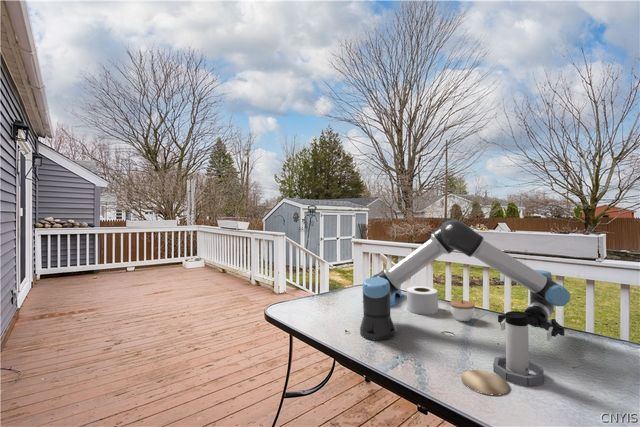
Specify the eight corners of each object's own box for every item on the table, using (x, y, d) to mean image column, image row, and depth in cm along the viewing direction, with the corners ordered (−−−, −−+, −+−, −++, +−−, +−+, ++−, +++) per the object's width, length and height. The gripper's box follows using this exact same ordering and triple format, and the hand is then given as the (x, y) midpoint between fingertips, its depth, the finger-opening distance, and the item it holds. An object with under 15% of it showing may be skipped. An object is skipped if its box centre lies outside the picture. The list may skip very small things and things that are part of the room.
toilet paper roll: (440, 307, 168) (440, 287, 168) (434, 316, 155) (433, 295, 155) (411, 303, 177) (411, 284, 176) (403, 311, 163) (402, 291, 163)
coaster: (480, 398, 89) (480, 396, 89) (452, 374, 102) (452, 372, 102) (519, 391, 92) (519, 389, 92) (487, 369, 105) (487, 367, 105)
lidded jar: (446, 316, 155) (445, 297, 155) (466, 314, 156) (466, 296, 156) (457, 324, 144) (457, 304, 144) (479, 322, 145) (479, 302, 145)
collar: (516, 388, 94) (516, 380, 94) (484, 365, 107) (484, 358, 107) (555, 382, 96) (554, 374, 96) (519, 360, 110) (519, 353, 109)
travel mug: (533, 379, 98) (532, 316, 97) (510, 378, 99) (509, 315, 99) (525, 369, 104) (523, 309, 104) (503, 367, 105) (502, 309, 105)
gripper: (577, 332, 114) (570, 353, 99) (501, 317, 132) (485, 333, 117) (577, 312, 114) (570, 329, 99) (500, 299, 132) (484, 313, 116)
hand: (524, 331), depth 108 cm, fingers open, 13 cm apart
